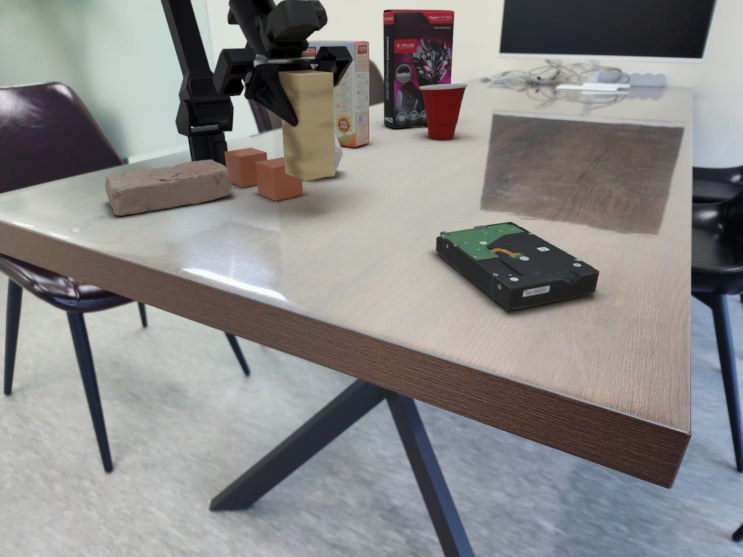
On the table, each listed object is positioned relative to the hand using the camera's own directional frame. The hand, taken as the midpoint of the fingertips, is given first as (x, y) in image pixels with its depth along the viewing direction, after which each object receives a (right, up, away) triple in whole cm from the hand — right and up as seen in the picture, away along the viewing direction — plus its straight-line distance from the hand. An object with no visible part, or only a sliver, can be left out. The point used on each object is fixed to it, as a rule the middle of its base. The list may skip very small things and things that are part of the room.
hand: (313, 122), depth 65 cm
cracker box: (0, +10, +49) cm, 50 cm away
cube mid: (-7, -7, +14) cm, 17 cm away
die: (-2, -2, +24) cm, 24 cm away
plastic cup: (+24, +13, +54) cm, 61 cm away
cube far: (-13, -4, +20) cm, 24 cm away
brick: (-23, -9, +11) cm, 26 cm away
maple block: (-1, -6, +4) cm, 7 cm away
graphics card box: (+19, +20, +69) cm, 74 cm away
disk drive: (+22, -20, -11) cm, 32 cm away
